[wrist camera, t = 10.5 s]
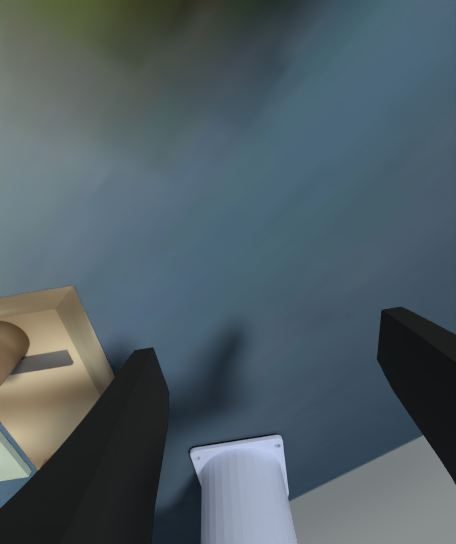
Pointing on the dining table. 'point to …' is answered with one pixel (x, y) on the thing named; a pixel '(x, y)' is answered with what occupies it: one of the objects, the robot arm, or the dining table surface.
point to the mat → (11, 462)
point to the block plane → (48, 369)
